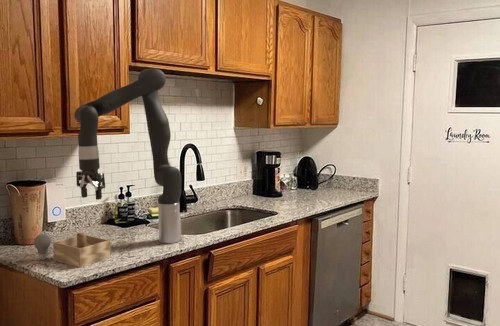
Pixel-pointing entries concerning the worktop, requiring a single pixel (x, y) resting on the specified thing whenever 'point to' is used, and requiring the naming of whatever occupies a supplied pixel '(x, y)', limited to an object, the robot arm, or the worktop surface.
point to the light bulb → (42, 245)
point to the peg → (81, 240)
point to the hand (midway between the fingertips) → (91, 198)
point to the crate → (81, 251)
